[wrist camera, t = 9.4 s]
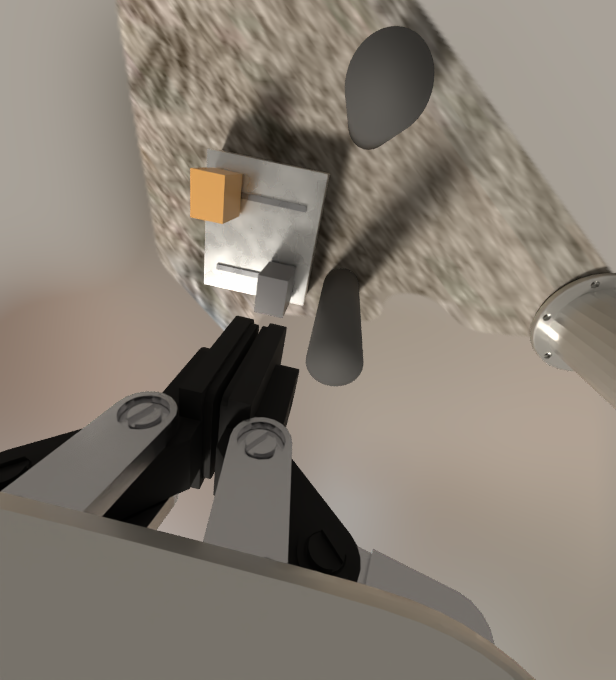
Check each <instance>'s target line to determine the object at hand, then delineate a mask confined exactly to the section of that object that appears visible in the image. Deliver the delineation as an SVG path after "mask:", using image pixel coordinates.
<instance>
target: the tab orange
mask: <svg viewBox="0 0 616 680" xmlns="http://www.w3.org/2000/svg"><path fill="white" fill-rule="evenodd" d="M241 187H242V174H241V173H236V172H232V171H227V170H222V169H218V168H213V167H210V168H190V217H192V218H197V219H201V220H206V221H211V222H215V223H220V224H224V223H226V222H228V221H230V220H232V219H235V218H237V217H239V215H240V201H241Z"/></svg>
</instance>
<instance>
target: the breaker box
mask: <svg viewBox="0 0 616 680" xmlns="http://www.w3.org/2000/svg"><path fill="white" fill-rule="evenodd" d="M210 167H213V168H218V169H222V170H227V171H232V172H236V173H241V174H242V187H241V201H240V215H239V217H237V218H235V219H232V220H230V221H228V222H226V223H224V224H220V223H215V222H211V221H205V264H204V284H207V285H212V286H216V287H221V288H225V289H230V290H234V291H239V292H244V293H248V294H253V295H256V290H257V280H258V274H259V273H260V272H261V271H262V270H263V268H264V267H265V266H266V265H267V264H268V263H269V261H271V262H275V263H280V264H285V265H289V266H294V267H296V271H295V277H294V283H293V289H292V295H291V300H290V303H294V304H298V305H303V304H304V301H305V298H306V295H307V291H308V286H309V281H310V275H311V270H312V265H313V260H314V255H315V250H316V245H317V239H318V234H319V229H320V224H321V219H322V214H323V209H324V204H325V198H326V193H327V188H328V183H329V178H330V173H327V172H322V171H317V170H313V169H308V168H303V167H299V166H294V165H289V164H285V163H280V162H275V161H271V160H266V159H261V158H256V157H252V156H247V155H242V154H238V153H233V152H228V151H224V150H216V149H207V168H210Z"/></svg>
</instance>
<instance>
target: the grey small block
mask: <svg viewBox="0 0 616 680" xmlns="http://www.w3.org/2000/svg"><path fill="white" fill-rule="evenodd" d="M295 271H296V267H294V266H289V265H285V264H280V263H275V262H271V261H269V263H268V264H267V265H266V266H265V267H264V268H263V270H262V271H261V272H260V273H259V274H258V280H257V290H256V299H255V308H254V312H257V313H261V314H266V315H270V316H275V317H279V318H283V316H284V314H285V312H286V309H287V307H288V305H289V303H290V300H291V295H292V289H293V283H294V277H295Z"/></svg>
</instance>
